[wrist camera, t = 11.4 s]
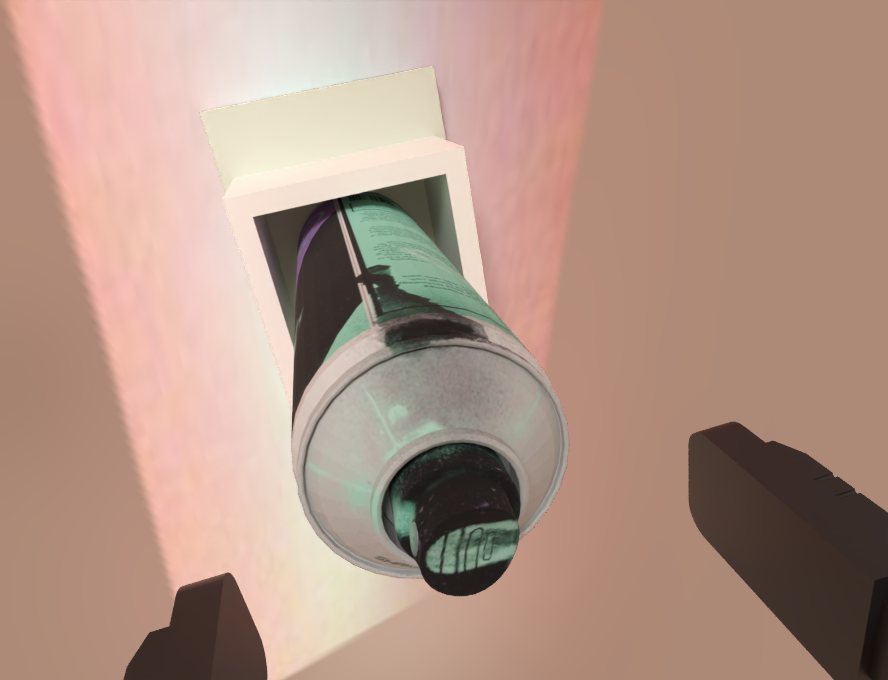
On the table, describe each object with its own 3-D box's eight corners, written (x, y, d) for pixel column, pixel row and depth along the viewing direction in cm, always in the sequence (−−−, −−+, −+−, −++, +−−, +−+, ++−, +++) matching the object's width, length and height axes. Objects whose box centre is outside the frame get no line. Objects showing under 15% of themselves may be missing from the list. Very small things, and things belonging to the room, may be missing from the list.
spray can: (273, 225, 26) (209, 518, 8) (386, 166, 26) (570, 328, 8) (335, 329, 29) (393, 736, 11) (438, 274, 29) (673, 585, 11)
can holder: (202, 111, 25) (178, 119, 20) (427, 66, 26) (464, 62, 21) (296, 401, 31) (298, 470, 25) (476, 352, 32) (516, 408, 27)
